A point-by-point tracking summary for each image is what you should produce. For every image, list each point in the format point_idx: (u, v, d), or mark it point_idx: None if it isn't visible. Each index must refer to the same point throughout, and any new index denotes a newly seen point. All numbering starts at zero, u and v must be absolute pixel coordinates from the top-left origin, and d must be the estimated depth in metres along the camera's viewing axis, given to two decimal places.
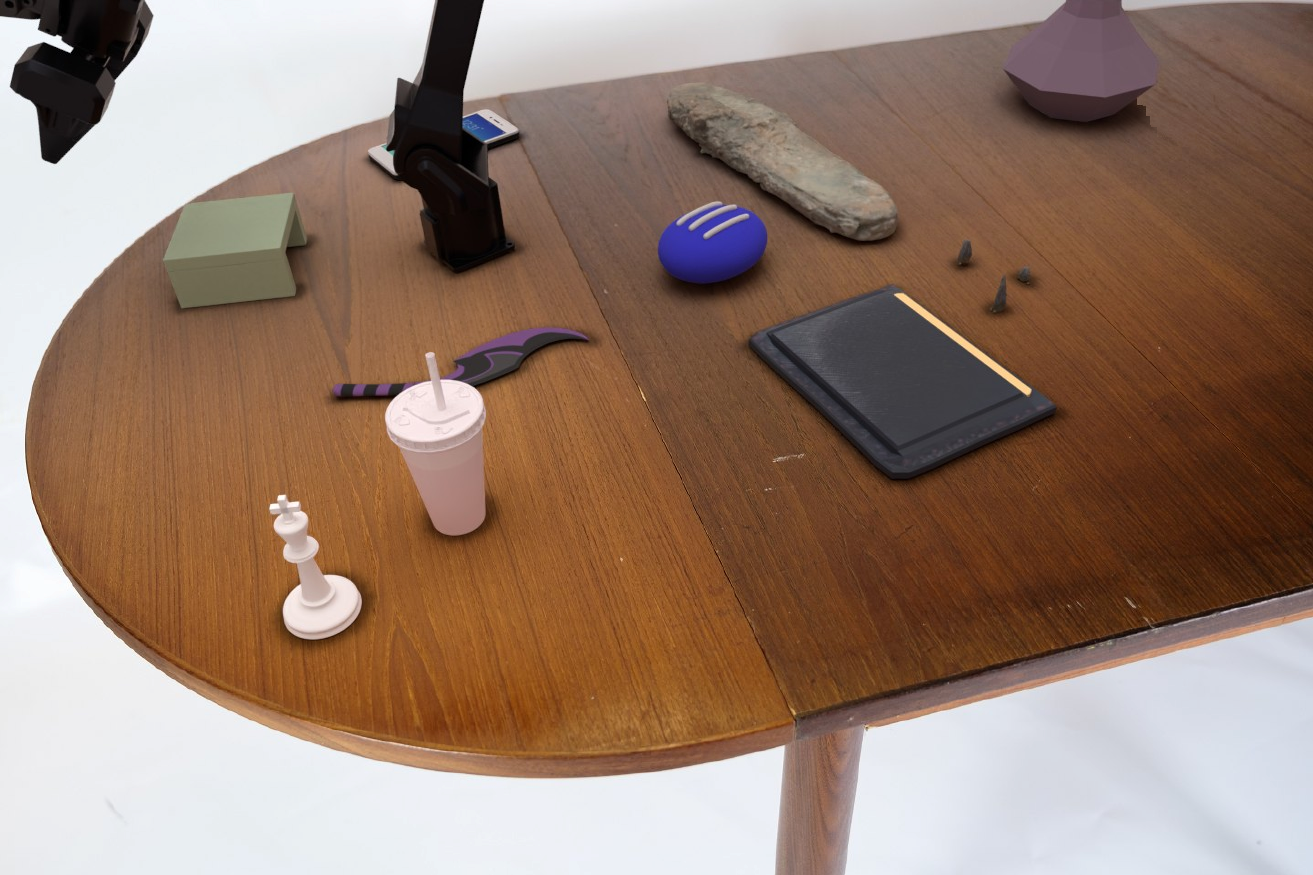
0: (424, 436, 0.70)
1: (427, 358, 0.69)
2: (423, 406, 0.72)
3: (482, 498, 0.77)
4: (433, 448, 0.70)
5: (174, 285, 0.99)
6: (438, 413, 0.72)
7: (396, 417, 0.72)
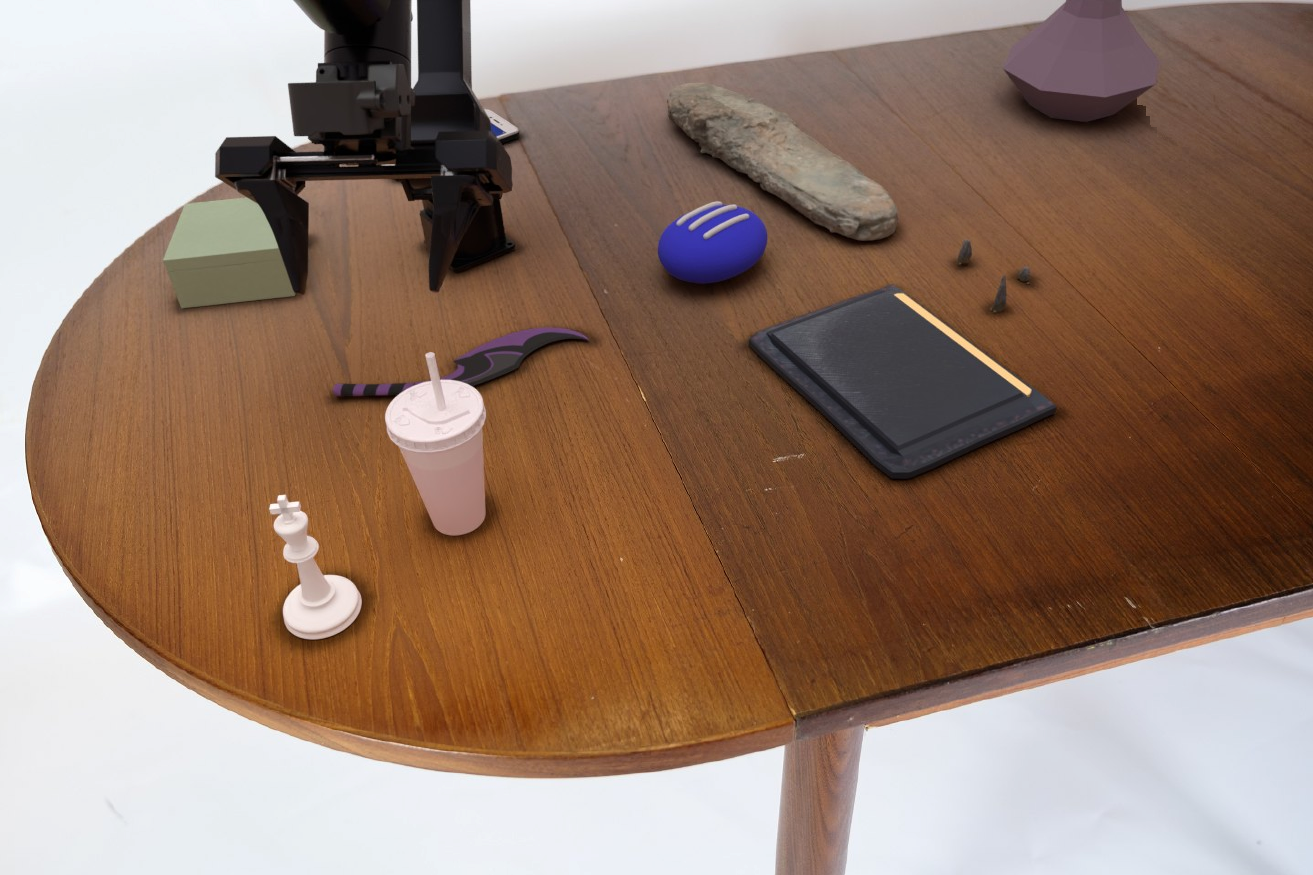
0: (424, 436, 0.70)
1: (427, 358, 0.69)
2: (423, 406, 0.72)
3: (482, 498, 0.77)
4: (433, 448, 0.70)
5: (174, 285, 0.99)
6: (438, 413, 0.72)
7: (396, 417, 0.72)
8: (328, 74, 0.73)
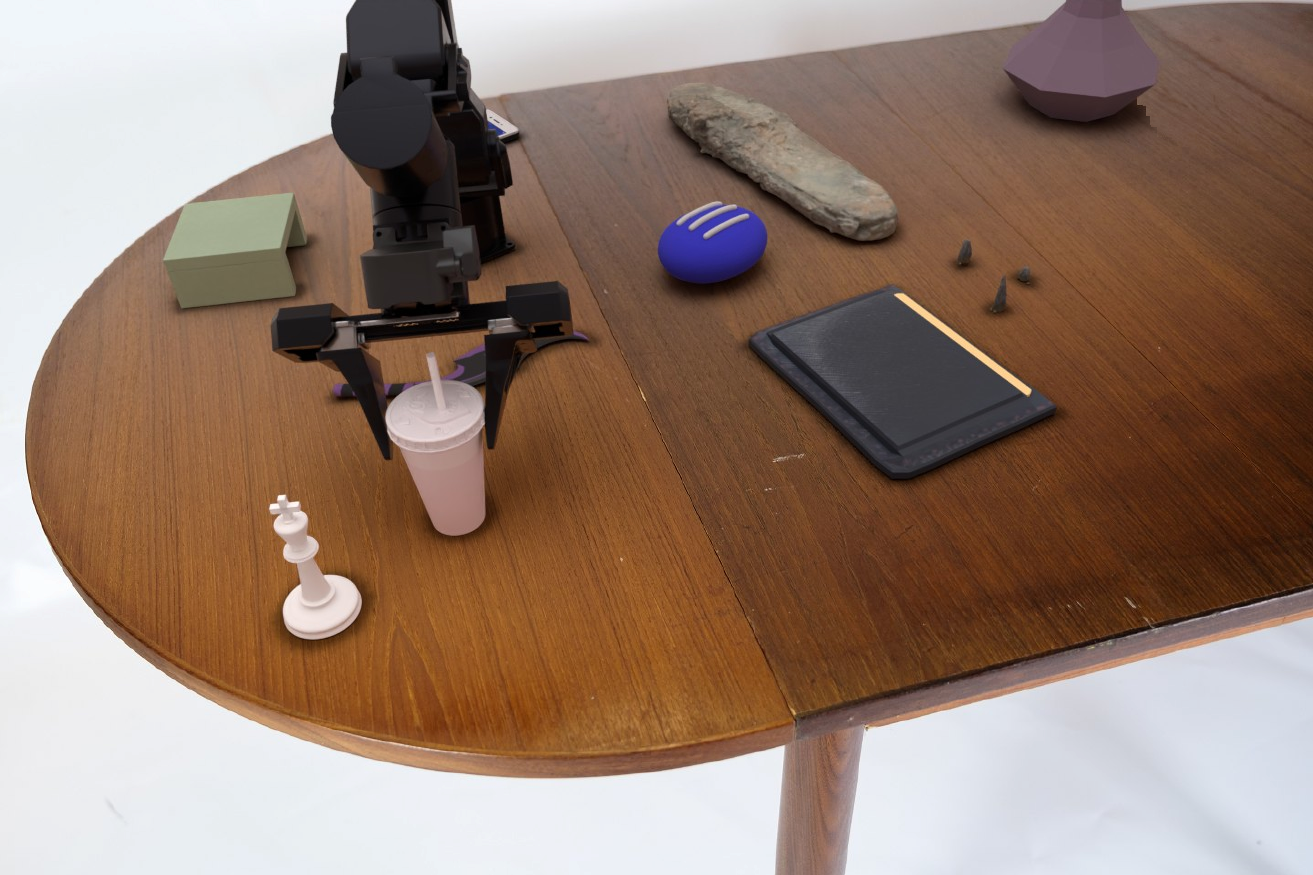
0: (424, 436, 0.70)
1: (428, 358, 0.69)
2: (423, 406, 0.72)
3: (482, 498, 0.77)
4: (433, 448, 0.70)
5: (174, 285, 0.99)
6: (438, 413, 0.72)
7: (396, 417, 0.72)
8: (386, 236, 0.71)
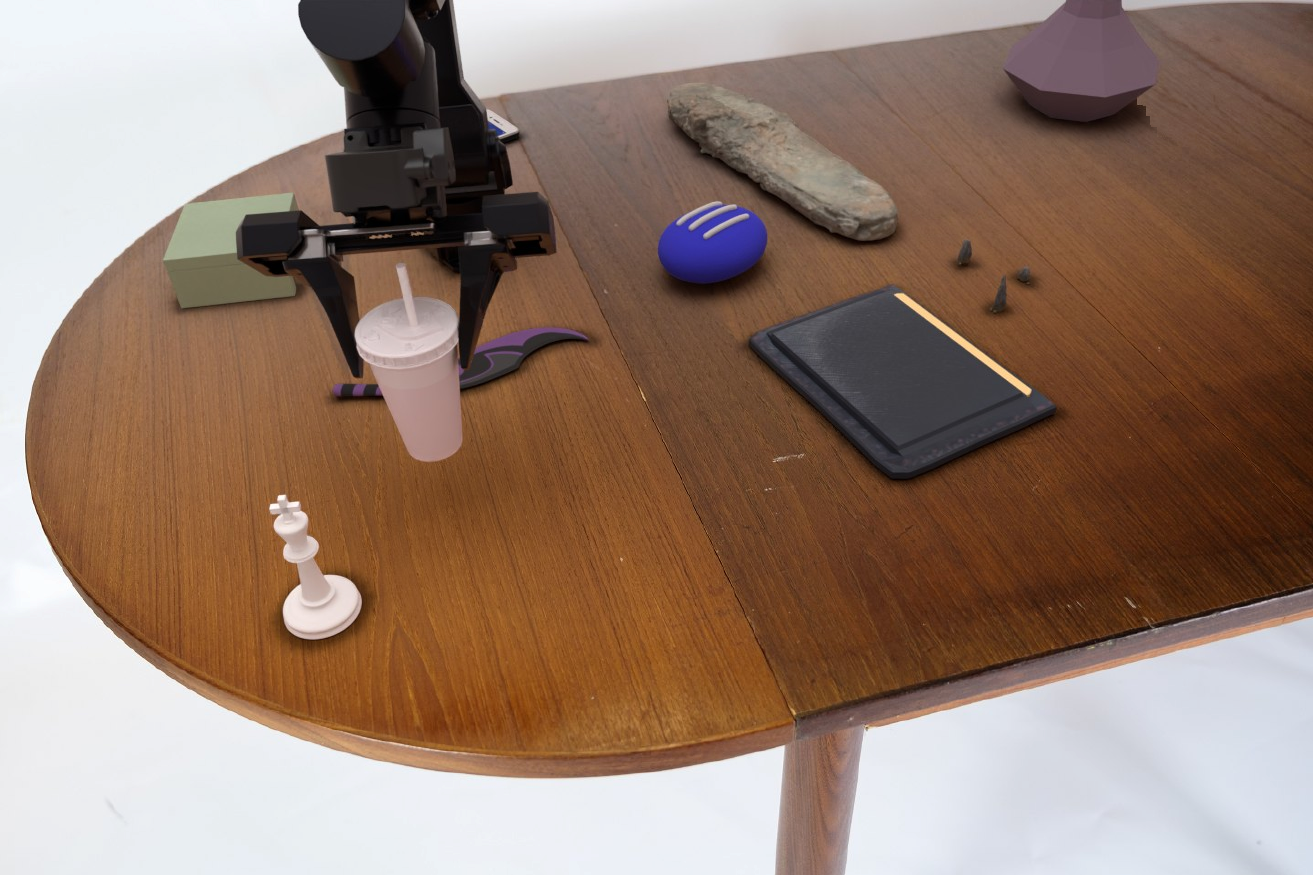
0: (393, 352, 0.67)
1: (397, 269, 0.66)
2: (395, 322, 0.69)
3: (458, 423, 0.73)
4: (403, 365, 0.67)
5: (174, 285, 0.99)
6: (410, 329, 0.68)
7: (366, 332, 0.69)
8: (357, 140, 0.67)
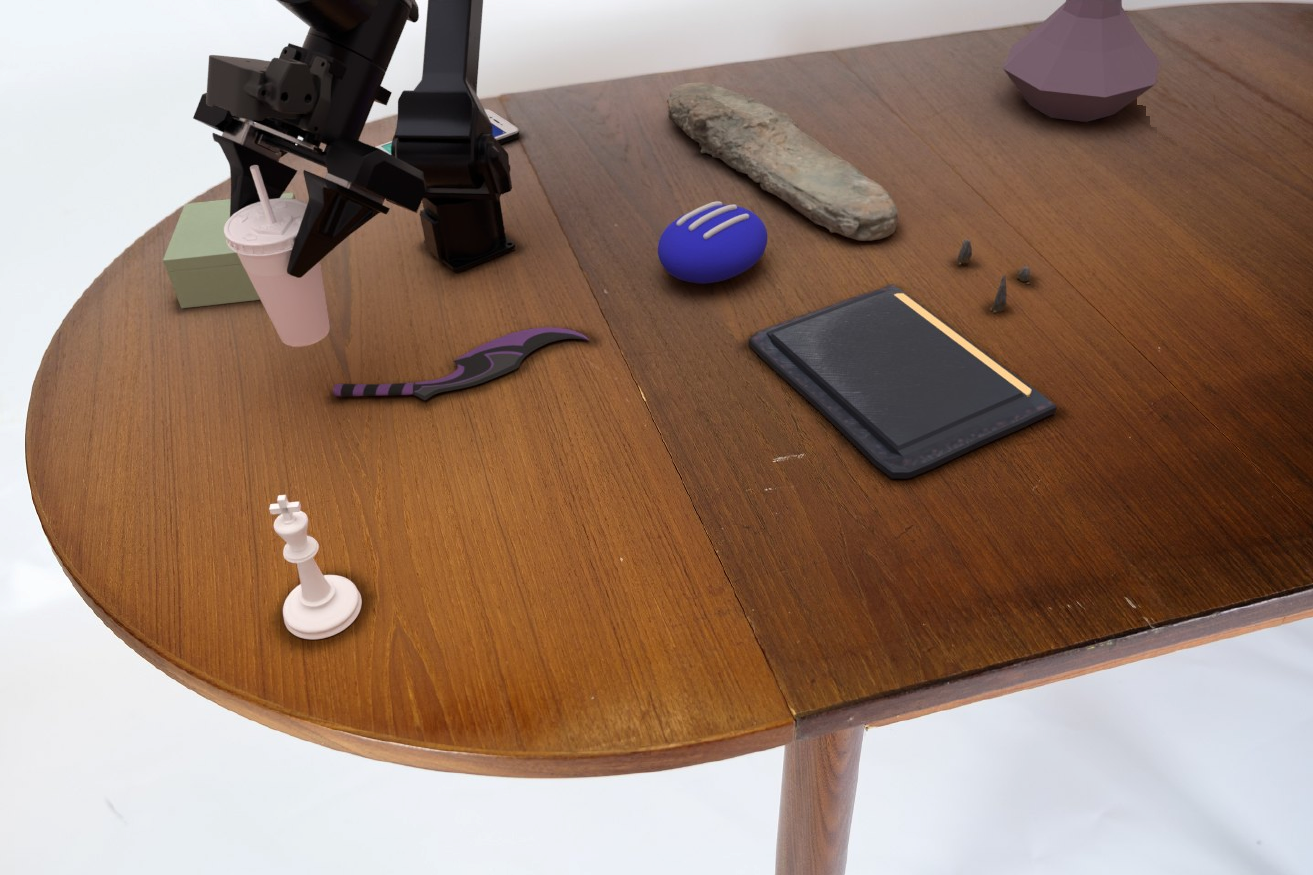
0: (234, 235, 0.78)
1: (250, 169, 0.76)
2: (264, 214, 0.79)
3: (306, 322, 0.83)
4: (235, 248, 0.78)
5: (174, 285, 0.99)
6: (263, 224, 0.78)
7: (244, 214, 0.80)
8: (288, 55, 0.77)
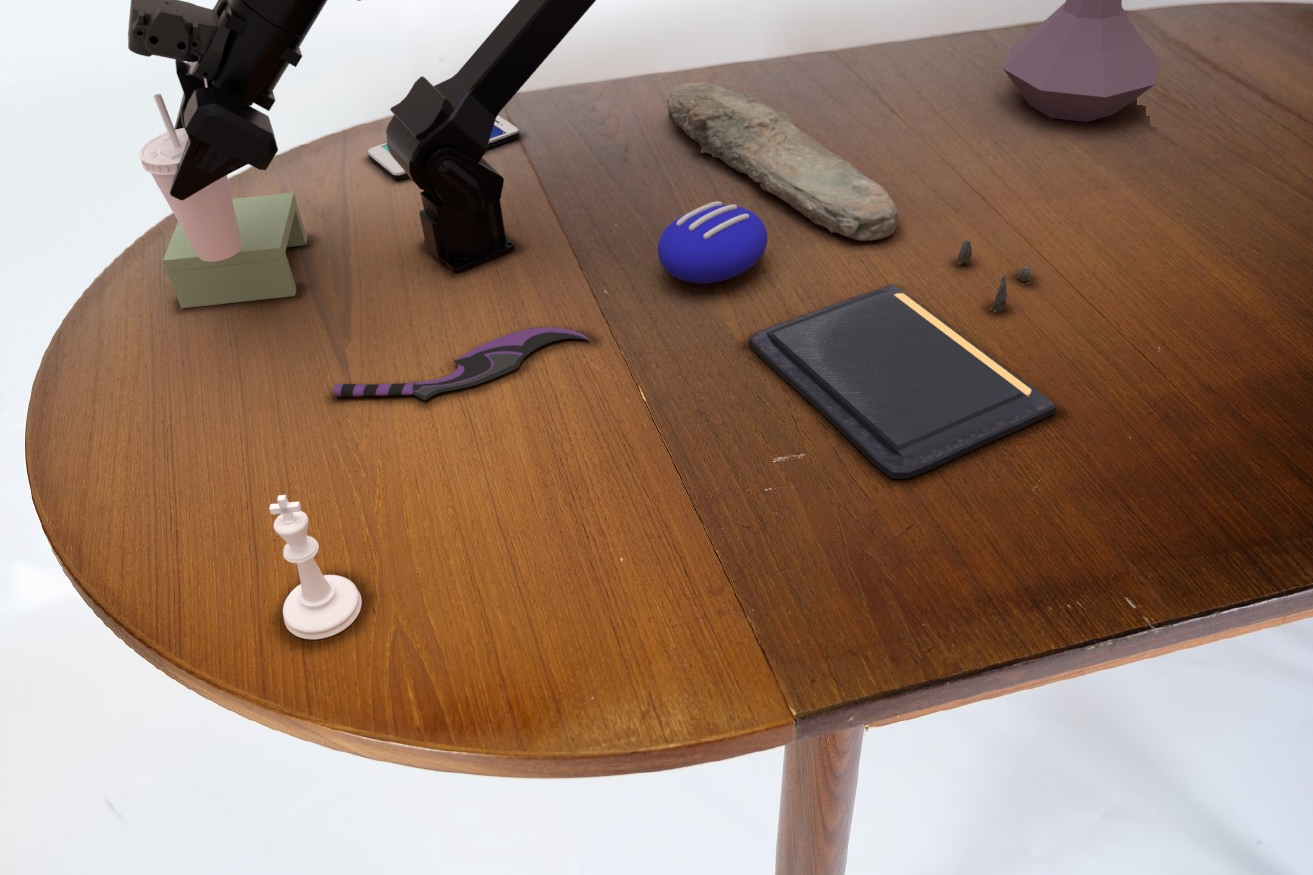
0: (145, 150, 0.89)
1: None
2: (180, 139, 0.90)
3: (203, 241, 0.93)
4: None
5: (174, 285, 0.99)
6: (169, 146, 0.89)
7: None
8: (218, 5, 0.86)
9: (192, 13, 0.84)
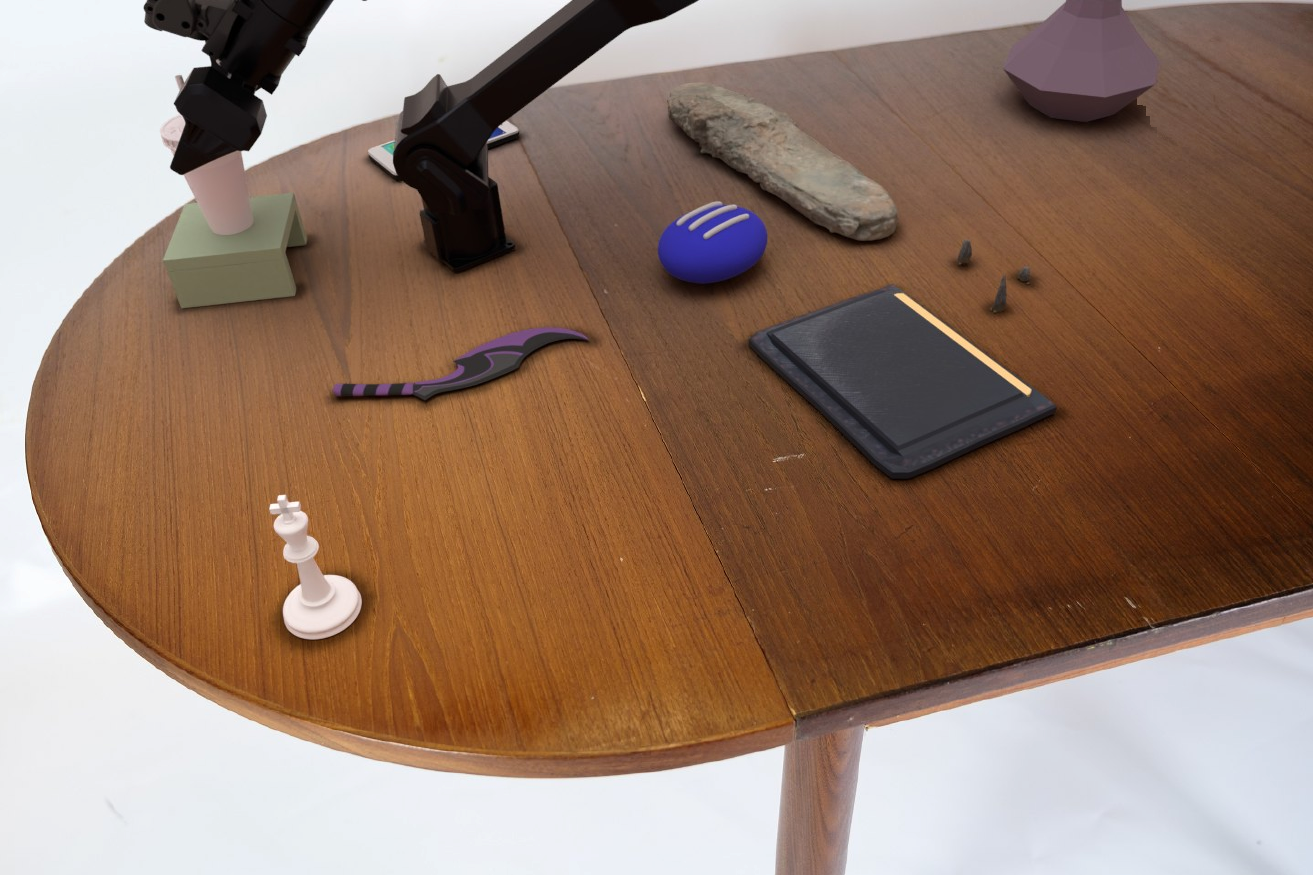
0: (168, 124, 0.95)
1: None
2: None
3: (213, 215, 0.98)
4: None
5: (174, 285, 0.99)
6: None
7: None
8: None
9: None
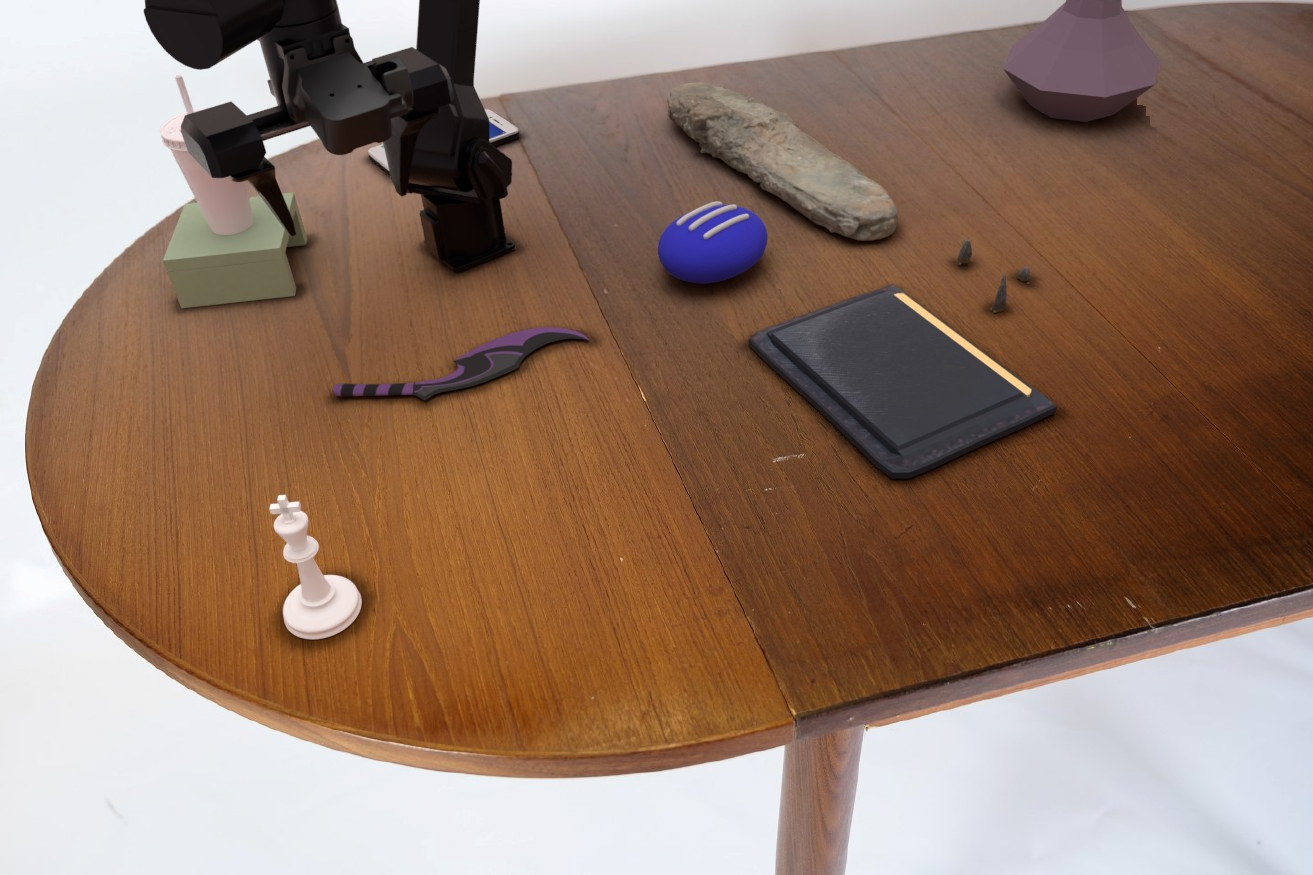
0: (168, 124, 0.95)
1: None
2: None
3: (213, 215, 0.98)
4: None
5: (174, 285, 0.99)
6: None
7: None
8: (298, 58, 0.76)
9: (335, 74, 0.76)
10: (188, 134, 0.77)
